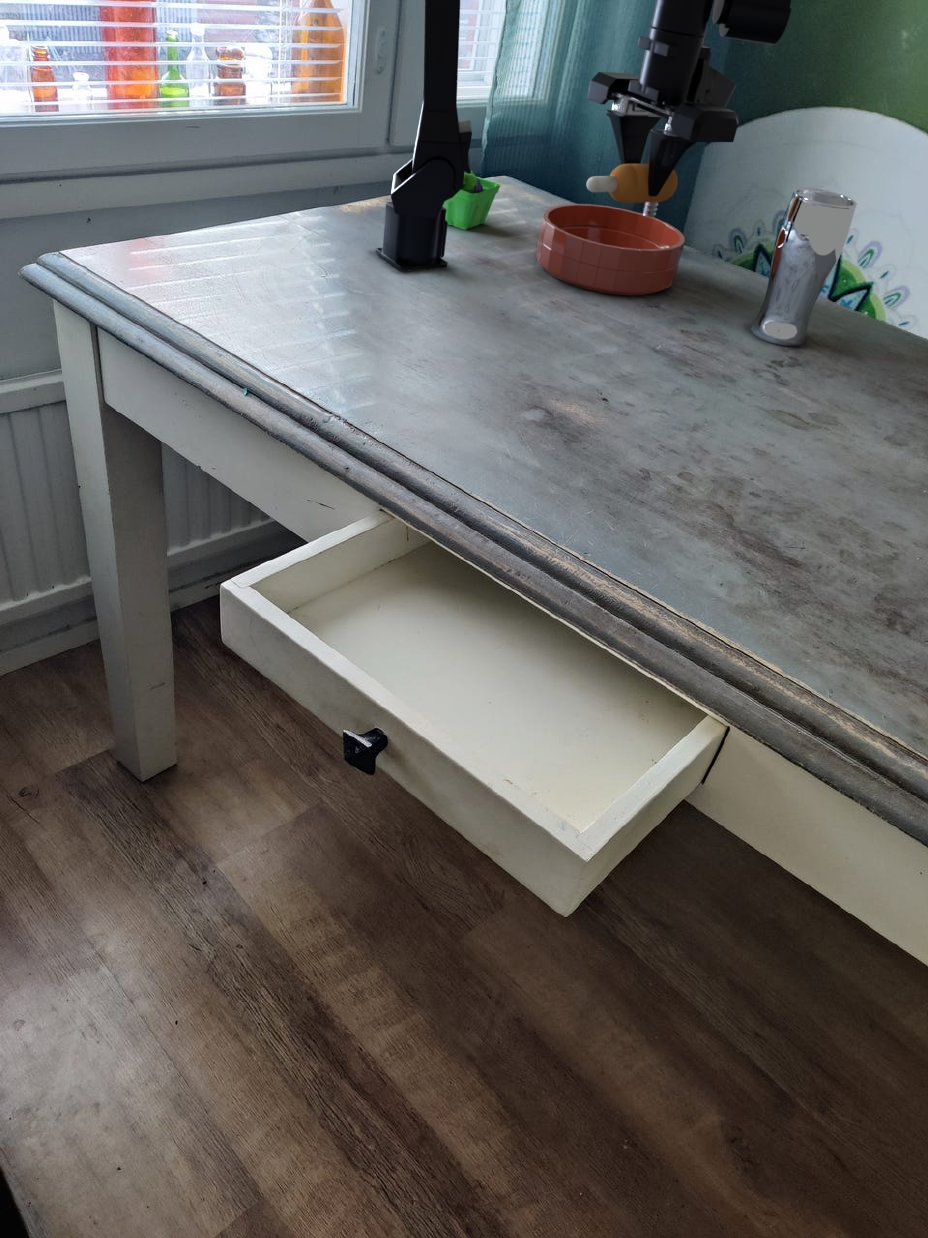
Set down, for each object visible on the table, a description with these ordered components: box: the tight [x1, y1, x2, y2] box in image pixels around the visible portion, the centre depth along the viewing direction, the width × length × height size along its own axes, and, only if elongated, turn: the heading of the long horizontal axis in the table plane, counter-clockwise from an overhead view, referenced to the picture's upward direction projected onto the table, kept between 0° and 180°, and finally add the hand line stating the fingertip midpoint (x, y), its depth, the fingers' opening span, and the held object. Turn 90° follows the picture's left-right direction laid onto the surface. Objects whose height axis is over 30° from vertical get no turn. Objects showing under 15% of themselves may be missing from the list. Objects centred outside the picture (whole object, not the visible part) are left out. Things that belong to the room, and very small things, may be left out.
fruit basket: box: [442, 170, 501, 231], centre depth 123 cm, size 11×9×11 cm
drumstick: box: [586, 162, 679, 204], centre depth 106 cm, size 12×4×4 cm, turn 121°
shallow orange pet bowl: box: [535, 203, 686, 296], centre depth 116 cm, size 17×17×6 cm
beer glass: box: [750, 187, 858, 347], centre depth 104 cm, size 7×7×15 cm
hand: (640, 190), depth 108 cm, fingers closed on drumstick, 4 cm apart
